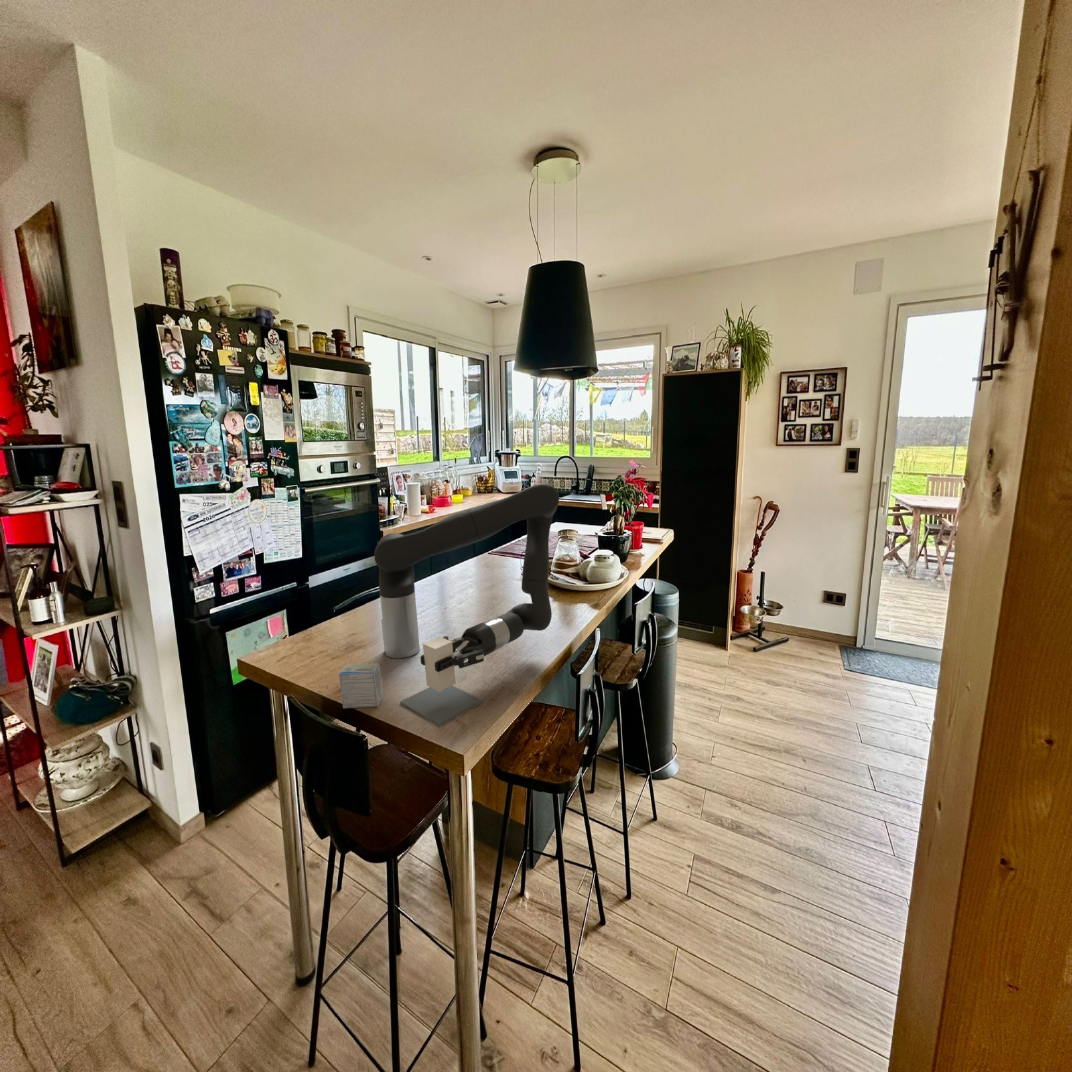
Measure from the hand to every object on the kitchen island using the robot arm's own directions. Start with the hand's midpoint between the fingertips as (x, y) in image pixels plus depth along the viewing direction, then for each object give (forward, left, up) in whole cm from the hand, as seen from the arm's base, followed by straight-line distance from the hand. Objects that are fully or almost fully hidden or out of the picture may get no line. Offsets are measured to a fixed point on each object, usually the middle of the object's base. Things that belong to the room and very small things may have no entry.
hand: (429, 664), depth 105 cm
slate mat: (0, +2, -11) cm, 11 cm away
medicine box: (-14, -9, -11) cm, 20 cm away
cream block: (0, +3, -6) cm, 7 cm away
